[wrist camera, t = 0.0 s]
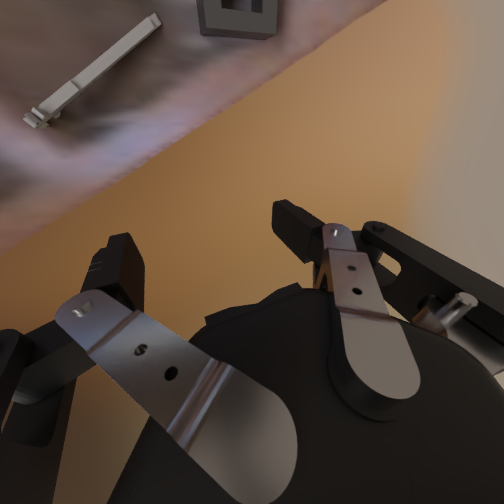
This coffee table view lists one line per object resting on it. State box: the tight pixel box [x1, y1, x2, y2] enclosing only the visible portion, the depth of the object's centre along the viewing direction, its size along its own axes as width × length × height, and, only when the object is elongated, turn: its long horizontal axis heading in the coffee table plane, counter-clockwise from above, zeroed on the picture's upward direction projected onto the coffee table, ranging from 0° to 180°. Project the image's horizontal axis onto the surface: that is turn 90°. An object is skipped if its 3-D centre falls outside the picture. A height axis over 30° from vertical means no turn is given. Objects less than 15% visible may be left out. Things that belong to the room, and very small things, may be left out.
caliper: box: [23, 13, 161, 130], centre depth 22 cm, size 20×1×6 cm, turn 121°
